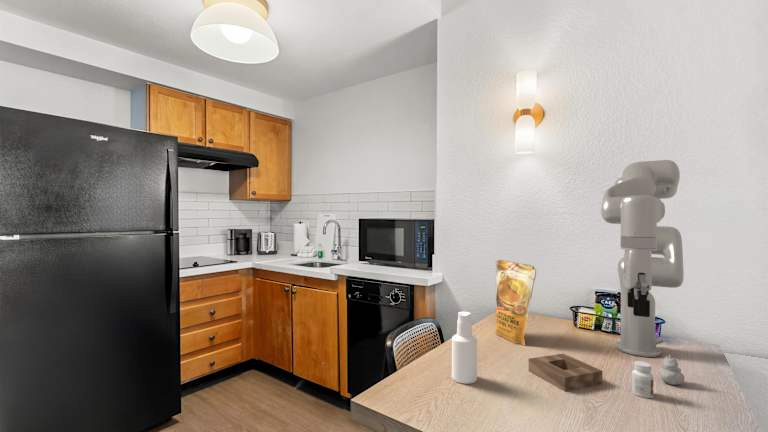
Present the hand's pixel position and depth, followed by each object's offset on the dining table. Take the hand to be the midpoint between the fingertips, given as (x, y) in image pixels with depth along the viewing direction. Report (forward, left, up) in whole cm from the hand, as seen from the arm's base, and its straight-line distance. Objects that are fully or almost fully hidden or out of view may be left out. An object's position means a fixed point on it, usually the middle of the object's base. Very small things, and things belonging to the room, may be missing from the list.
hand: (638, 311), depth 91 cm
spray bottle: (+37, -21, -21) cm, 48 cm away
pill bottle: (-1, +1, -21) cm, 21 cm away
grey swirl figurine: (-15, -1, -21) cm, 26 cm away
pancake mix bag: (+2, -45, -21) cm, 50 cm away
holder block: (+10, -13, -21) cm, 27 cm away
